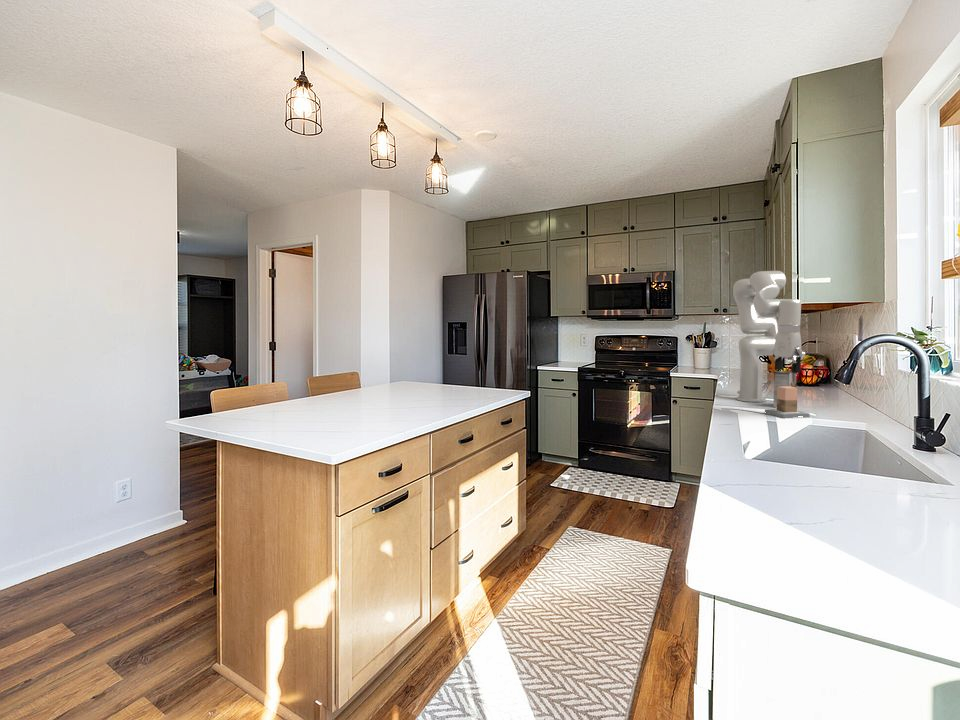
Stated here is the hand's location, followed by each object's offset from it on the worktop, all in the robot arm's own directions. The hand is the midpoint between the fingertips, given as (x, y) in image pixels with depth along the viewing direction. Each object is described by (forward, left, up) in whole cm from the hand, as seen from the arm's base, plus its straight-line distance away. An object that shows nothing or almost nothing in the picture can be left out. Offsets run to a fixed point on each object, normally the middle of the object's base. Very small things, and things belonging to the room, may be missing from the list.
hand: (787, 371), depth 189 cm
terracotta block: (+1, 0, -12) cm, 12 cm away
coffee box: (-16, +12, -19) cm, 27 cm away
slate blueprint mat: (+1, 0, -18) cm, 18 cm away
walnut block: (+1, 0, -17) cm, 17 cm away
